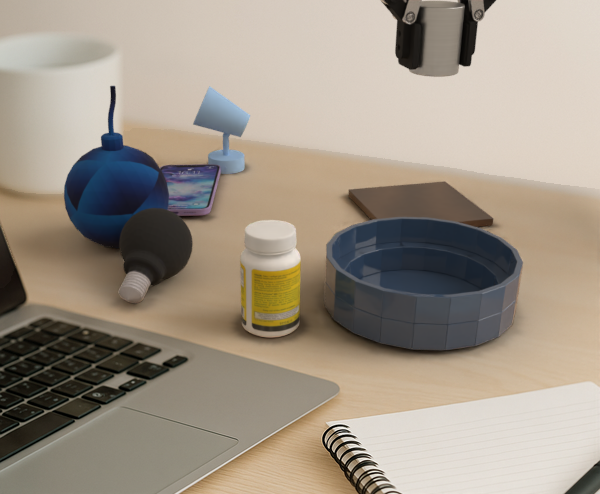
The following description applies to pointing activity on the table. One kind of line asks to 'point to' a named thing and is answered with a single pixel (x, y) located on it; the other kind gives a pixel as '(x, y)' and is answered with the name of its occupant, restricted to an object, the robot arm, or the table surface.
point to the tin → (440, 38)
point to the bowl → (422, 282)
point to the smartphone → (191, 188)
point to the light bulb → (152, 250)
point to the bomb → (112, 187)
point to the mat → (419, 203)
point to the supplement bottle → (270, 279)
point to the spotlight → (223, 129)
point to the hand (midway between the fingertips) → (434, 63)
